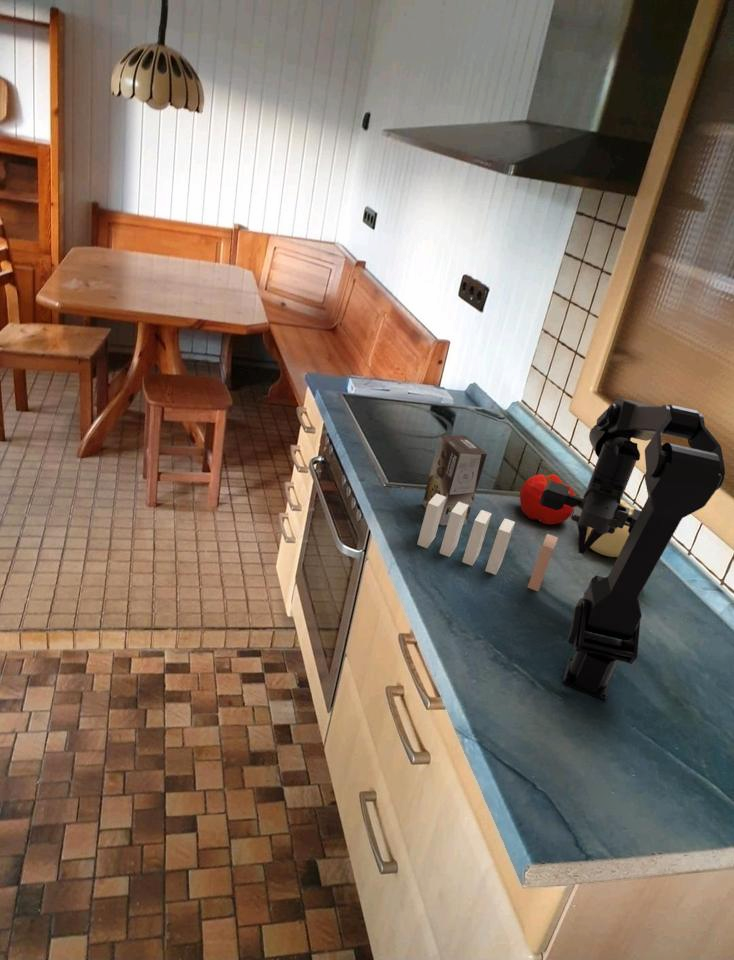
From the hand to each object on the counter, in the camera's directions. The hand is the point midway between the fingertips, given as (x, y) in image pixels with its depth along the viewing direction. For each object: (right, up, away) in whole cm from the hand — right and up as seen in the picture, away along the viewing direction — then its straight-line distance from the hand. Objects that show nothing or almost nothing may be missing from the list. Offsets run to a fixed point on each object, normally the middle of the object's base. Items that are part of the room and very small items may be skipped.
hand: (581, 552), depth 122 cm
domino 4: (-14, -3, +8) cm, 16 cm away
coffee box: (-22, +5, +23) cm, 32 cm away
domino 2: (-22, 0, +10) cm, 24 cm away
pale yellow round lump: (+12, -2, +23) cm, 26 cm away
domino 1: (-26, +1, +12) cm, 28 cm away
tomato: (+1, +4, +31) cm, 31 cm away
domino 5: (-7, -6, +6) cm, 11 cm away
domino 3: (-18, -2, +9) cm, 20 cm away
